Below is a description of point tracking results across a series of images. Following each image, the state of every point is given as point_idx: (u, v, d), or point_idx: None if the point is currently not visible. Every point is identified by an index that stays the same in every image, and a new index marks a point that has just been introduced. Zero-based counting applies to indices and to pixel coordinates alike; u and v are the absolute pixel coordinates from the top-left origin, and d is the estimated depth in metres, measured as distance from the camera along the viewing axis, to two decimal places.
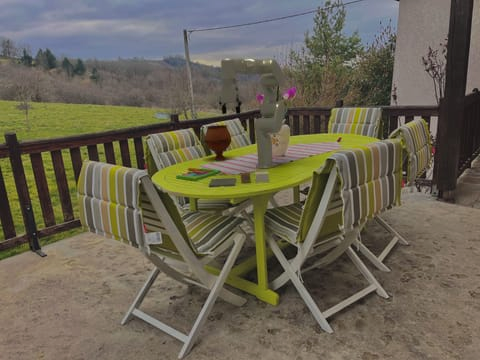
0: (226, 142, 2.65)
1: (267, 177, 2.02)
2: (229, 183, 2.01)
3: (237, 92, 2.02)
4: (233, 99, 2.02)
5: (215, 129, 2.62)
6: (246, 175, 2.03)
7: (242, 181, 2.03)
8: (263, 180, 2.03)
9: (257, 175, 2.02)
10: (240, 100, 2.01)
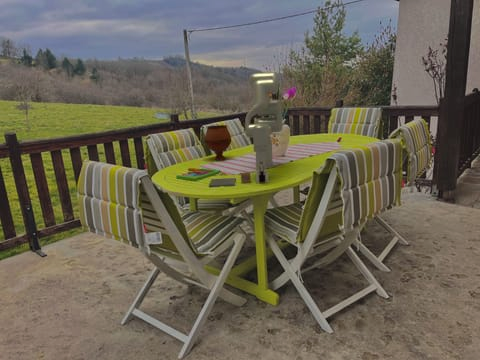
0: (226, 142, 2.65)
1: (267, 177, 2.02)
2: (229, 183, 2.01)
3: None
4: None
5: (215, 129, 2.62)
6: (246, 175, 2.03)
7: (242, 181, 2.03)
8: None
9: (257, 175, 2.02)
10: None
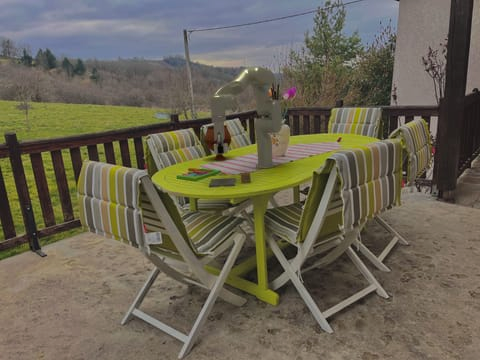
0: (226, 142, 2.65)
1: (225, 148, 1.99)
2: (229, 183, 2.01)
3: None
4: None
5: None
6: (246, 175, 2.03)
7: (242, 181, 2.03)
8: None
9: (215, 146, 1.99)
10: None
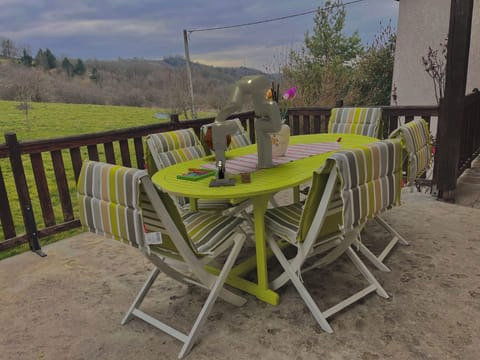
0: None
1: (227, 177, 2.03)
2: (229, 183, 2.01)
3: None
4: None
5: None
6: (246, 175, 2.03)
7: (242, 181, 2.03)
8: (223, 180, 2.04)
9: (217, 175, 2.03)
10: None
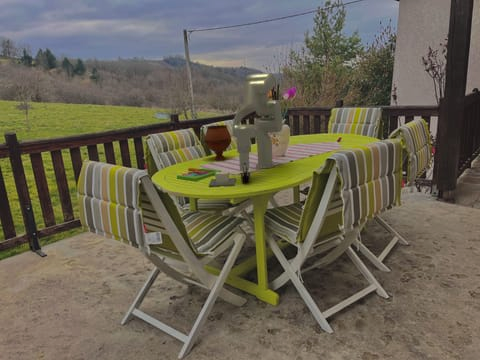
0: (226, 142, 2.65)
1: (227, 177, 2.03)
2: (229, 183, 2.01)
3: None
4: None
5: (215, 129, 2.62)
6: None
7: (242, 181, 2.03)
8: (223, 180, 2.04)
9: (217, 175, 2.03)
10: None
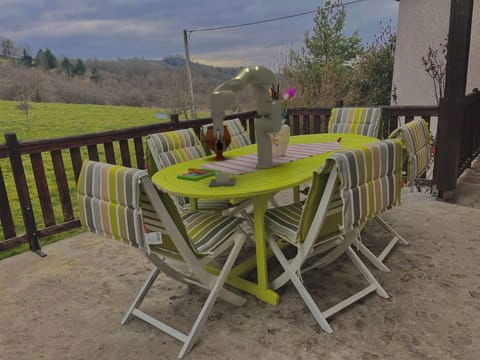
0: (226, 142, 2.65)
1: (227, 177, 2.03)
2: (229, 183, 2.01)
3: None
4: None
5: None
6: None
7: (216, 148, 1.99)
8: (223, 180, 2.04)
9: (217, 175, 2.03)
10: None
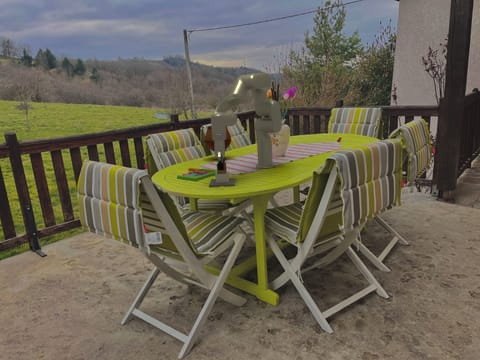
0: (226, 142, 2.65)
1: (227, 177, 2.03)
2: (229, 183, 2.01)
3: None
4: None
5: None
6: None
7: (218, 171, 2.02)
8: (223, 180, 2.04)
9: (217, 175, 2.03)
10: None
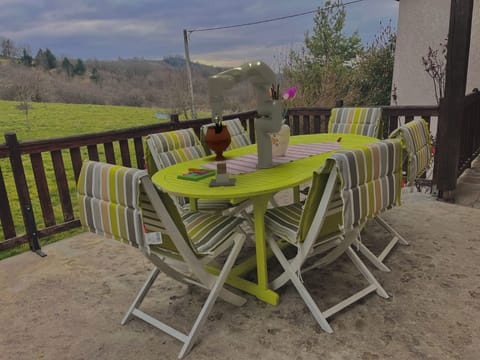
0: (226, 142, 2.65)
1: (227, 177, 2.03)
2: (229, 183, 2.01)
3: None
4: None
5: None
6: (222, 165, 2.02)
7: (218, 171, 2.02)
8: (223, 180, 2.04)
9: (217, 175, 2.03)
10: None
